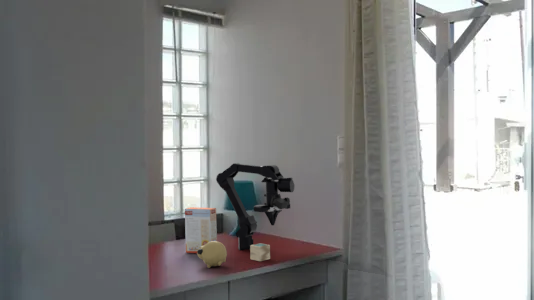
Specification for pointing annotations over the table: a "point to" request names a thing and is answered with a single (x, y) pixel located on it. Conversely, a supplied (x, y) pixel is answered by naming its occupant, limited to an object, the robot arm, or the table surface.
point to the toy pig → (212, 253)
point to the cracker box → (199, 227)
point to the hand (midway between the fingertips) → (272, 225)
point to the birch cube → (260, 252)
